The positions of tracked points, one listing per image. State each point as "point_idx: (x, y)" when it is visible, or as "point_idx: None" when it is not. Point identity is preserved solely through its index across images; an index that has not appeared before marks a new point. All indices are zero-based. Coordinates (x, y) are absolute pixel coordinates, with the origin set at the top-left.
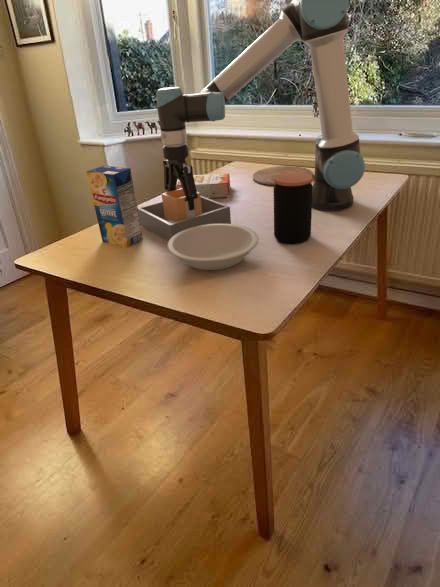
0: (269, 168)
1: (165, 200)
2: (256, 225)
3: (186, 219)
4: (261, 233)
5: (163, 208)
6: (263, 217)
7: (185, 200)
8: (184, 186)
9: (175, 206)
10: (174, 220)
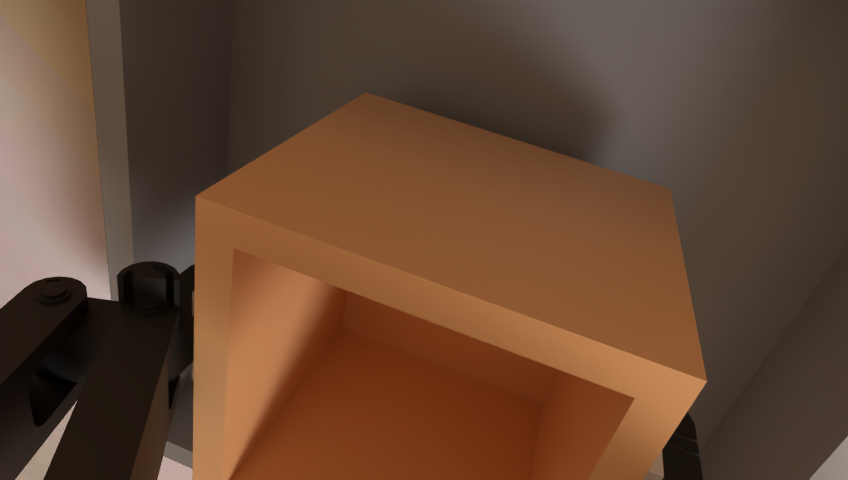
0: None
1: (580, 277)
2: None
3: (104, 34)
4: (3, 289)
5: (833, 357)
6: (165, 469)
7: (152, 269)
8: (54, 463)
9: (295, 163)
10: (442, 123)
